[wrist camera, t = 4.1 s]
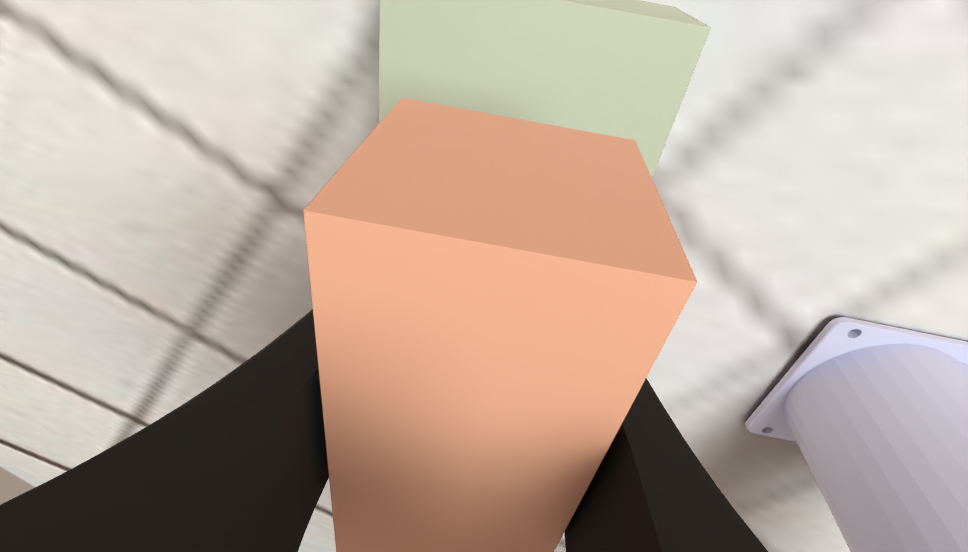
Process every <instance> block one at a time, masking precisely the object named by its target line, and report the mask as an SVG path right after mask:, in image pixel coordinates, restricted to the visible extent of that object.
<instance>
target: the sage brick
mask: <svg viewBox="0 0 968 552" xmlns="http://www.w3.org/2000/svg"><path fill="white" fill-rule="evenodd" d="M710 29H711V27H709V26H707V25H706V24H704V23H702V22H700V21H699V20H697V19H695V18H693V17H692V16H690V15H688V14H686V13H685V12H683V11H681V10H679V9H678V8H676V7H672V6H666V5H661V4H655V3H650V2H645V1H639V0H380V32H379V118H378V124H379V123H380V122H381V121H382V120H383V118H384V117H385V116H386V115H387V114H388V113H389V112H390V110H391V109H392V108H393V107H394V106H395V105H396V104H397V102H398V101H399V100H400V99H401V98H406V99H412V100H417V101H423V102H428V103H434V104H439V105H445V106H450V107H456V108H461V109H467V110H472V111H478V112H483V113H489V114H494V115H500V116H505V117H511V118H516V119H521V120H527V121H532V122H538V123H543V124H549V125H554V126H560V127H565V128H571V129H576V130H582V131H587V132H593V133H598V134H604V135H609V136H615V137H620V138H626V139H631V140H635V141H636V143H637V145H638V148H639V150H640V152H641V155H642V157H643V159H644V161H645V164H646V166H647V168H648V171H649V173H650V175H651V177H652V176H653V174H654V171H655V169H656V166H657V164H658V161H659V158H660V156H661V153H662V151H663V148H664V146H665V143H666V141H667V138H668V136H669V133H670V130H671V128H672V125H673V123H674V120H675V118H676V115H677V113H678V110H679V108H680V105H681V102H682V100H683V97H684V95H685V92H686V90H687V87H688V85H689V82H690V80H691V77H692V75H693V72H694V69H695V67H696V64H697V62H698V59H699V57H700V54H701V52H702V49H703V47H704V44H705V41H706V39H707V36H708V34H709V31H710Z"/></svg>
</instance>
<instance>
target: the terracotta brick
mask: <svg viewBox="0 0 968 552" xmlns="http://www.w3.org/2000/svg"><path fill="white" fill-rule="evenodd" d="M303 212H304V222H305V232H306V243H307V253H308V263H309V274H310V284H311V294H312V305H313V315H314V325H315V336H316V346H317V356H318V367H319V377H320V387H321V398H322V408H323V418H324V429H325V439H326V449H327V460H328V470H329V480H330V491H331V501H332V511H333V522H334V532H335V542H336V552H554V550H555V548H556V546H557V544H558V543H559V541H560V539H561V537H562V535H563V533H564V531H565V529H566V528H567V526H568V524H569V522H570V520H571V518H572V516H573V514H574V513H575V511H576V509H577V507H578V505H579V503H580V501H581V499H582V497H583V496H584V494H585V492H586V490H587V488H588V486H589V484H590V482H591V481H592V479H593V477H594V475H595V473H596V471H597V469H598V467H599V466H600V464H601V462H602V460H603V458H604V456H605V454H606V452H607V451H608V449H609V447H610V445H611V443H612V441H613V439H614V437H615V435H616V434H617V432H618V430H619V428H620V426H621V424H622V422H623V420H624V419H625V417H626V415H627V413H628V411H629V409H630V407H631V405H632V404H633V402H634V400H635V398H636V396H637V394H638V392H639V390H640V389H641V387H642V385H643V383H644V381H645V379H646V377H647V375H648V373H649V372H650V370H651V368H652V366H653V364H654V362H655V360H656V358H657V357H658V355H659V353H660V351H661V349H662V347H663V345H664V343H665V342H666V340H667V338H668V336H669V334H670V332H671V330H672V328H673V327H674V325H675V323H676V321H677V319H678V317H679V315H680V313H681V312H682V310H683V308H684V306H685V304H686V302H687V300H688V298H689V296H690V295H691V293H692V291H693V289H694V287H695V285H696V283H697V280H696V278H695V276H694V274H693V271H692V269H691V267H690V264H689V262H688V260H687V258H686V255H685V253H684V251H683V248H682V246H681V244H680V242H679V239H678V237H677V235H676V232H675V230H674V228H673V225H672V223H671V221H670V219H669V216H668V214H667V212H666V209H665V207H664V205H663V203H662V200H661V198H660V196H659V193H658V191H657V189H656V187H655V184H654V182H653V180H652V177H651V175H650V173H649V171H648V168H647V166H646V164H645V161H644V159H643V157H642V155H641V152H640V150H639V148H638V145H637V143H636V141H635V140H631V139H626V138H620V137H615V136H609V135H604V134H598V133H593V132H587V131H582V130H576V129H571V128H565V127H560V126H554V125H549V124H543V123H538V122H532V121H527V120H521V119H516V118H511V117H505V116H500V115H494V114H489V113H483V112H478V111H472V110H467V109H461V108H456V107H450V106H445V105H439V104H434V103H428V102H423V101H417V100H412V99H406V98H401V99H400V100H399V101H398V102H397V104H396V105H395V106H394V107H393V108H392V109H391V110H390V112H389V113H388V114H387V115H386V116H385V117H384V118H383V120H382V121H381V122H380V123H379V124H378V125H377V126H376V128H375V129H374V130H373V131H372V132H371V133H370V135H369V136H368V137H367V138H366V139H365V140H364V141H363V143H362V144H361V145H360V146H359V147H358V148H357V149H356V151H355V152H354V153H353V154H352V155H351V156H350V157H349V159H348V160H347V161H346V162H345V163H344V164H343V166H342V167H341V168H340V169H339V170H338V171H337V172H336V174H335V175H334V176H333V177H332V178H331V179H330V180H329V182H328V183H327V184H326V185H325V186H324V187H323V188H322V190H321V191H320V192H319V193H318V194H317V195H316V197H315V198H314V199H313V200H312V201H311V202H310V203H309V205H308V206H307V207H306V208H305V209H304V210H303Z"/></svg>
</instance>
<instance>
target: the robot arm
mask: <svg viewBox="0 0 968 552" xmlns="http://www.w3.org/2000/svg"><path fill="white" fill-rule="evenodd" d="M851 330H853V331H851ZM745 425H746V428H747V430H748V431H749V432H750V433H753V434H758V435H763V436H768V437H774V438H779V439H784V440H789V441H794V442H797V444H798V446H799V448H800V450H801V452H802V454H803V456H804V458H805V460H806V462H807V464H808V466H809V468H810V470H811V472H812V474H813V476H814V478H815V480H816V482H817V484H818V486H819V488H820V490H821V492H822V494H823V496H824V498H825V500H826V502H827V504H828V506H829V508H830V510H831V513H832V515H833V517H834V519H835V521H836V523H837V525H838V527H839V529H840V531H841V533H842V535H843V537H844V539H845V541H846V543H847V545H848V547H849V549H850V551H851V552H968V342H967V341H962V340H957V339H952V338H947V337H942V336H937V335H932V334H927V333H922V332H917V331H912V330H907V329H902V328H897V327H892V326H887V325H882V324H877V323H872V322H867V321H862V320H857V319H852V318H847V317H839V318H835V319H833V320H831V321H830V322H829V323H828V324H827V325H826V326H825V327H824V329H823V330H822V331H821V332H820V333H819V335H818V336H817V337H816V338H815V339H814V341H813V342H812V343H811V344H810V345H809V347H808V348H807V349H806V350H805V351H804V353H803V354H802V355H801V356H800V357H799V359H798V360H797V361H796V362H795V363H794V365H793V366H792V367H791V368H790V369H789V370H788V372H787V373H786V374H785V375H784V376H783V378H782V379H781V380H780V381H779V382H778V384H777V385H776V386H775V387H774V388H773V390H772V391H771V392H770V393H769V394H768V396H767V397H766V398H765V399H764V400H763V402H762V403H761V404H760V405H759V406H758V408H757V409H756V410H755V411H754V412H753V413H752V415H751V416H750V417H749V418H748V419H747V421H746V423H745ZM328 478H329V470H328V460H327V449H326V439H325V429H324V418H323V408H322V398H321V387H320V377H319V367H318V356H317V346H316V336H315V325H314V315H313V309H312V310H311V311H310V312H309V313H307V314H306V315H305V316H304V317H303V318H301V319H300V320H299V321H298V322H297V323H295V324H294V325H293V326H291V327H290V328H289V329H288V330H286V331H285V332H284V333H283V334H281V335H280V336H279V337H278V338H276V339H275V340H274V341H273V342H271V343H270V344H269V345H267V346H266V347H265V348H264V349H262V350H261V351H260V352H258V353H257V354H256V355H254V356H253V357H251V358H250V359H249V360H247V361H246V362H244V363H243V364H242V365H240V366H239V367H237V368H236V369H235V370H233V371H232V372H230V373H229V374H228V375H226V376H225V377H223V378H222V379H221V380H219V381H218V382H216V383H215V384H213V385H212V386H211V387H209V388H208V389H206V390H205V391H203V392H202V393H200V394H198V395H197V396H195V397H194V398H192V399H191V400H189V401H188V402H186V403H185V404H183V405H182V406H180V407H178V408H177V409H175V410H173V411H172V412H170V413H169V414H167V415H165V416H164V417H162V418H160V419H159V420H157V421H156V422H154V423H152V424H151V425H149V426H147V427H146V428H144V429H142V430H140V431H139V432H137V433H135V434H133V435H132V436H130V437H128V438H126V439H125V440H123V441H121V442H119V443H118V444H116V445H114V446H112V447H111V448H109V449H107V450H105V451H104V452H102V453H100V454H98V455H97V456H95V457H93V458H91V459H89V460H87V461H86V462H84V463H82V464H80V465H78V466H76V467H74V468H73V469H71V470H69V471H67V472H65V473H63V474H61V475H59V476H57V477H55V478H54V479H52V480H50V481H48V482H46V483H44V484H41V485H39V486H37V487H35V488H33V489H31V490H30V491H27V492H25V493H23V494H21V495H19V496H17V497H15V498H13V499H11V500H9V501H7V502H5V503H3V504H1V505H0V552H298V549H299V546H300V544H301V541H302V538H303V535H304V533H305V530H306V528H307V525H308V523H309V521H310V518H311V516H312V513H313V511H314V508H315V506H316V504H317V502H318V500H319V497H320V495H321V493H322V491H323V489H324V487H325V484H326V482H327V480H328ZM565 544H566V552H768V551H767V550H766V548H765V547H764V546H763V545H762V543H761V542H760V541H759V540H758V538H757V537H756V536H755V535H754V533H753V532H752V531H751V530H750V528H749V527H748V526H747V525H746V523H745V522H744V521H743V520H742V518H741V517H740V516H739V515H738V513H737V512H736V511H735V510H734V508H733V507H732V506H731V504H730V503H729V502H728V500H727V499H726V498H725V496H724V495H723V494H722V492H721V491H720V490H719V488H718V487H717V486H716V484H715V483H714V481H713V480H712V479H711V477H710V476H709V474H708V473H707V472H706V470H705V469H704V467H703V466H702V464H701V463H700V462H699V460H698V459H697V457H696V456H695V455H694V453H693V452H692V450H691V449H690V447H689V446H688V444H687V443H686V441H685V440H684V438H683V437H682V435H681V433H680V432H679V430H678V429H677V427H676V425H675V424H674V422H673V421H672V419H671V418H670V416H669V414H668V413H667V411H666V410H665V408H664V407H663V405H662V403H661V402H660V400H659V398H658V397H657V395H656V393H655V392H654V390H653V388H652V387H651V385H650V383H649V382H648V380H647V378H646V379H645V381H644V383H643V385H642V387H641V389H640V390H639V392H638V394H637V396H636V398H635V400H634V402H633V404H632V405H631V407H630V409H629V411H628V413H627V415H626V417H625V419H624V420H623V422H622V424H621V426H620V428H619V430H618V432H617V434H616V435H615V437H614V439H613V441H612V443H611V445H610V447H609V449H608V451H607V452H606V454H605V456H604V458H603V460H602V462H601V464H600V466H599V467H598V469H597V471H596V473H595V475H594V477H593V479H592V481H591V482H590V484H589V486H588V488H587V490H586V492H585V494H584V496H583V497H582V499H581V501H580V503H579V505H578V507H577V509H576V511H575V513H574V514H573V516H572V518H571V520H570V522H569V524H568V526H567V528H566V529H565Z"/></svg>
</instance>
